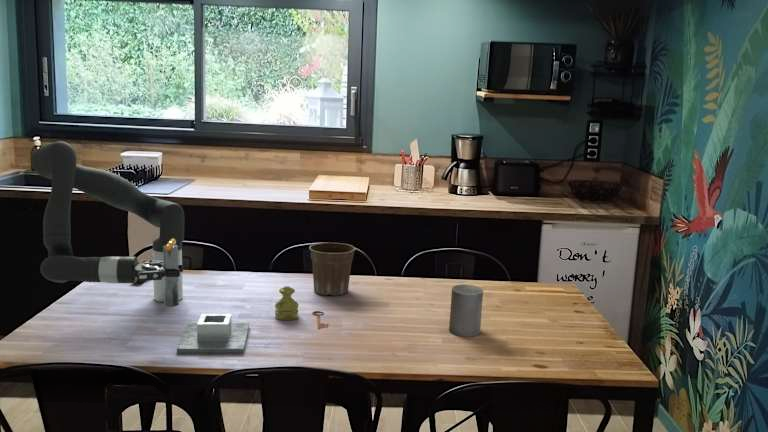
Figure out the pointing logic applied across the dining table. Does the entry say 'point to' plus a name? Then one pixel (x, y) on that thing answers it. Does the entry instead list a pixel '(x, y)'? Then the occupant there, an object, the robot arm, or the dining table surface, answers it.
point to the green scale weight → (286, 305)
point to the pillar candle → (466, 310)
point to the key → (319, 319)
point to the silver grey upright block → (171, 282)
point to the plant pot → (331, 267)
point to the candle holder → (214, 336)
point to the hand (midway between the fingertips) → (181, 270)
